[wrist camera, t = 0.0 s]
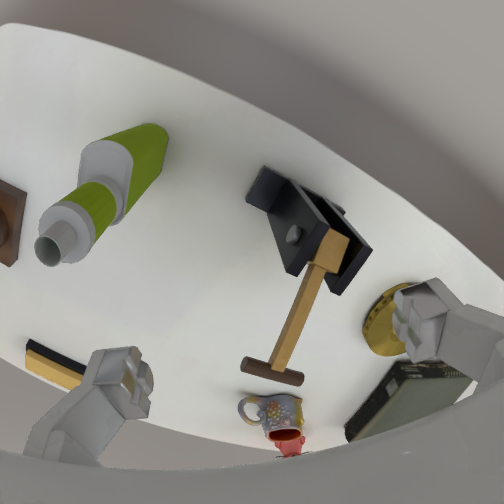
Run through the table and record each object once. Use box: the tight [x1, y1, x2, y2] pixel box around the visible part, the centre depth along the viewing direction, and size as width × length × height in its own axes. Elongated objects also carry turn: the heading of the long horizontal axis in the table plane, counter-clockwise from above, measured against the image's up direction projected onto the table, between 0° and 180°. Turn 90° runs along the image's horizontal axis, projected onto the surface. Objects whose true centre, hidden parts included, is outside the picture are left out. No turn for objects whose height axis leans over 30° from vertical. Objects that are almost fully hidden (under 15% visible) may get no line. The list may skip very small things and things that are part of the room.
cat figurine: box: [275, 436, 313, 459], centre depth 48 cm, size 7×7×12 cm
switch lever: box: [240, 228, 349, 387], centre depth 23 cm, size 12×5×2 cm, turn 152°
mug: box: [238, 395, 304, 442], centre depth 45 cm, size 12×7×7 cm, turn 53°
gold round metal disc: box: [362, 283, 412, 356], centre depth 41 cm, size 12×12×2 cm
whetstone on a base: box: [25, 339, 87, 390], centre depth 41 cm, size 5×14×3 cm, turn 62°
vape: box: [34, 124, 169, 267], centre depth 21 cm, size 4×6×20 cm, turn 163°
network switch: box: [344, 362, 473, 443], centre depth 51 cm, size 23×24×5 cm
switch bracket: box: [245, 166, 373, 296], centre depth 28 cm, size 4×10×13 cm, turn 62°
